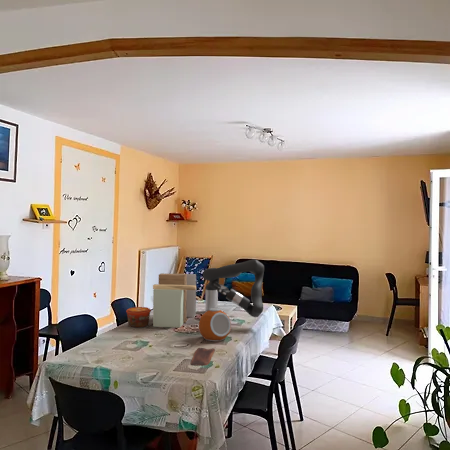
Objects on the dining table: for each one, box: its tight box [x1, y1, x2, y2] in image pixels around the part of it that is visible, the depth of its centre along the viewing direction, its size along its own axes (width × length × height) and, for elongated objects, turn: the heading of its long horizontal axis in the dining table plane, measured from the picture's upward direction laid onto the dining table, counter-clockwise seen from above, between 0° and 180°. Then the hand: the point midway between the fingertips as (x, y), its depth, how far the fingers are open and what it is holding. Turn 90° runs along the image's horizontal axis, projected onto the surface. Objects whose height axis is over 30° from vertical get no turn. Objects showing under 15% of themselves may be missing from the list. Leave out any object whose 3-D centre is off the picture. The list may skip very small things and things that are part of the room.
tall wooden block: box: [158, 272, 189, 324], centre depth 292 cm, size 9×20×32 cm, turn 84°
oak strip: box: [152, 283, 197, 291], centre depth 279 cm, size 4×28×2 cm, turn 84°
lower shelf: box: [152, 289, 184, 328], centre depth 280 cm, size 9×18×24 cm, turn 84°
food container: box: [125, 306, 152, 329], centre depth 279 cm, size 16×16×11 cm
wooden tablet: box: [190, 347, 216, 367], centre depth 217 cm, size 26×2×10 cm
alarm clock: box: [198, 308, 232, 342], centre depth 251 cm, size 19×18×17 cm
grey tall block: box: [186, 273, 197, 318], centre depth 307 cm, size 14×6×30 cm, turn 84°
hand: (213, 283), depth 277 cm, fingers open, 8 cm apart
